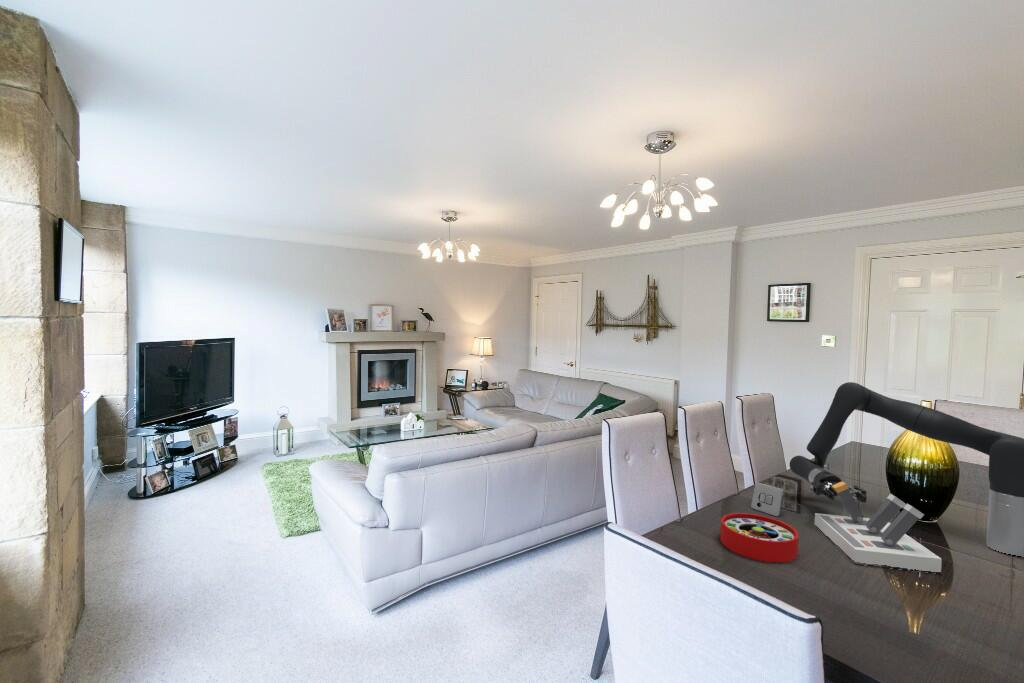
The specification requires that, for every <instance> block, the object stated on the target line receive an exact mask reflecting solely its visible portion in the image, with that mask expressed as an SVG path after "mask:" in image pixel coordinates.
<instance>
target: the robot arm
mask: <svg viewBox="0 0 1024 683" xmlns="http://www.w3.org/2000/svg"><path fill="white" fill-rule="evenodd" d="M855 411H859V412H864V413H867V414H870V415H874V416H877V417H880V418H883V419H885V420H887V421H889V422H891V423H893V424H895V425H896V426H898V427H901V428H903V429H905V430H907V431H909V432H913V433H915V434H916V435H921V436H922V437H923V436H924V437H926V438H928V439H930V440H931V439H932V440H934V441H939V442H943V443H948V444H953V445H957V446H961V447H966V448H969V449H973V450H974V451H978V452H980V453H983V454H985V455H987V456H988V457H989V458H988V483H989V488H988V489H989V490H988V509H987V510H988V511H987V513H988V514H987V527H986V538H985V539H986V546H987V548H989V547H990V549H991V550H994V551H995V550H996V552H998V551H999V552H998V553H1001V552H1002V553H1001V554H1004V553H1006V554H1005V555H1008V554H1011V555H1010V556H1012V555H1016V556H1015V557H1017V556H1021V557H1020V558H1024V438H1023V437H1021V436H1016V435H1011V434H1008V433H1004V432H1001V431H998V430H997V431H995V430H993V429H988V428H986V427H985V428H984V427H982V426H979V425H976V424H974V423H972V422H971V423H970V422H968V421H966V420H963V419H961V418H958V417H956V416H953V415H951V414H948V413H945V412H942V411H940V410H937V409H934V408H931V407H928V406H925V405H921V404H919V403H913V402H909V401H905V400H900V399H894V398H891V397H888V396H886V395H883V394H880V393H878V392H876V391H874V390H871V389H869V388H868V387H866V386H864V385H861V384H859V383H858V382H857V383H856V382H853V381H849V382H845V383H842V384H841V385H839V387H838V388H837V390H836V392H835V394H834V397H833V399H832V401H831V404H830V407H829V408H828V410H827V413H826V415H825V416H824V418H823V420H822V422H821V424H820V425H819V427H818V429H817V430H816V432H815V433H814V434H813V436H812V437H811V439H810V441H809V442H808V443H807V445H806V450H807V452H809V453H810V454H811V455H813V456H814V460H811V459H809V458H808V457H806V456H803V455H795V456H793V457H792V458H791V459H790V461H789V469H790V471H791V472H792V473H794V474H795V475H797V476H799V477H800V478H802V479H804V480H805V481H807V482H808V483H809V484H810V491H811V492H813V493H814V494H815V495H816V496H820V495H822V496H823V497H826V498H828V499H829V500H831V501H835V497H839V496H838V494H837V493H836V491H834V489H833V487H832V485H835V484H837V483H839V482H842V481H843V480H842V479H841V478H840V477H839V476H837V475H836V474H834V473H832V472H831V471H830V470H828V469H825V464H826V462H827V459H828V456H829V455H830V453H831V451H832V450H833V448H834V447H835V446H836V444H837V442H838V440H839V438H840V435H841V432H842V430H843V427H844V425H845V423H846V421H847V420H848V419H849V417H850V416H851V414H852V413H854V412H855ZM847 486H848V488H849V489H848V490H849V491H850V493H851V495H852V497H853V498H854V499H855V500H858V502H861V503H862V504H865V503H866V502H867V498H868V497H867V490H865V489H863V488H862V487H861V486H858V485H853V486H849V485H847Z"/></svg>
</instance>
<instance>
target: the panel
mask: <svg viewBox="0 0 1024 683" xmlns="http://www.w3.org/2000/svg"><path fill="white" fill-rule="evenodd" d="M870 518H871V517H870ZM870 518H869V517H864V518H863V521H862V522H858V521H854V520H853V519H852V518H851V517H850V515H849V516H848V515H838V514H829V513H827V514H826V513H818V512H817V513H816V512H815V513H814V526H815V525H816V526H817V527H818V528H819V529H820V530H821V531H822V532H823V533H824V534H825V535H826V536H828V537H829V538H830V539H831V540H832V541H833V542H834V543H835V544H836V545H838V546H839V547H840V548H841V549H842V550H843V551H844V552H845V553H846V554H847V555H848V556H849V557H850V558H851V559H852V560H854V561H855V562H860V563H866V564H878V565H887V566H891V567H900V568H910V569H916V570H922V571H931V572H941V573H942V558H941V557H940V556H938V555H937V554H935V553H933V552H932V551H931V550H929V548H926V547H925V546H924V545H923V544H921V543H919V542H918V541H916V540H915V539H914V538H912V537H911V536H909V535H907V534H906V533H905V534H904V536H903V537H902V538H901V539H900V540H899V541H898V542H897V543H896V544H895V545H888V544H886V543H885V542H884V541H883V540H882V539H881V537H882V536H880V535H881V534H882V533H883V532H884V531H885V530H886V528H887V527H888V526H889V525H890V524H891V523H892V522H890V521H889V522H888V523H887V524H886V525H885V527H884V528H883V529H882V530H881V531H880V532H879V533H877V532H876V533H872V532H871V531H870V530H869V529H867V527H866V526H867V525H866V523H867V521H868V520H869V519H870ZM816 526H815V527H816ZM817 527H816V528H817ZM818 528H817V529H818ZM819 529H818V530H819ZM820 530H819V531H820ZM821 531H820V532H821ZM822 532H821V533H822ZM823 533H822V534H823ZM824 534H823V535H824ZM825 535H824V536H825ZM826 536H825V537H826Z"/></svg>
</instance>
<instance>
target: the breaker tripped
mask: <svg viewBox="0 0 1024 683" xmlns="http://www.w3.org/2000/svg"><path fill="white" fill-rule="evenodd" d="M848 486H849V485H847V483H846V482H844V481H843V480H842V482H839V483H837V484H835V485H832V487H833V489H834V491H836V493H837V494H838V496H837V497H838V498H839V500H840V501H841V504H843V507H844V508H845V510H846V512H847V514H848V515H849V516H850V517H851V518H852V519H853V520H854V521H858V522H862V521H863V518H865V516H864V514H863V512H862V511H861V509H860V507H859V505H858V503H857V502H856V499H855V498H853V497H852V495H851V493H850V491H849V490H848V489H849V488H848Z"/></svg>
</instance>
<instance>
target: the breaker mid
mask: <svg viewBox="0 0 1024 683" xmlns="http://www.w3.org/2000/svg"><path fill="white" fill-rule="evenodd" d="M906 504H907V503H905V502H904V501H903V500H901V499H899V498H898V497H897V496H895V495H893V494H892V493H890V494H889V495H888V496H887V497H886V500H885V501H884V502H883V504H881V505H880V507H879V508H878V509H877V510H876V511H875V512H874V514H872V516H871V517H870V519H869V520H868V521H867V523H866V525H867V526H866V527H867V529H869V530H870V531H871V532H872V533H876V532H877V533H879V532H880V531H881V530H882V529H883V528H884V527H885V525H886V524H887V523H888V522H889V523H890V521H891V520H892V519H893V518H894V516H895V515H896V514H897V513H899V511H900V510H901V509H904V506H905V505H906Z"/></svg>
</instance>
